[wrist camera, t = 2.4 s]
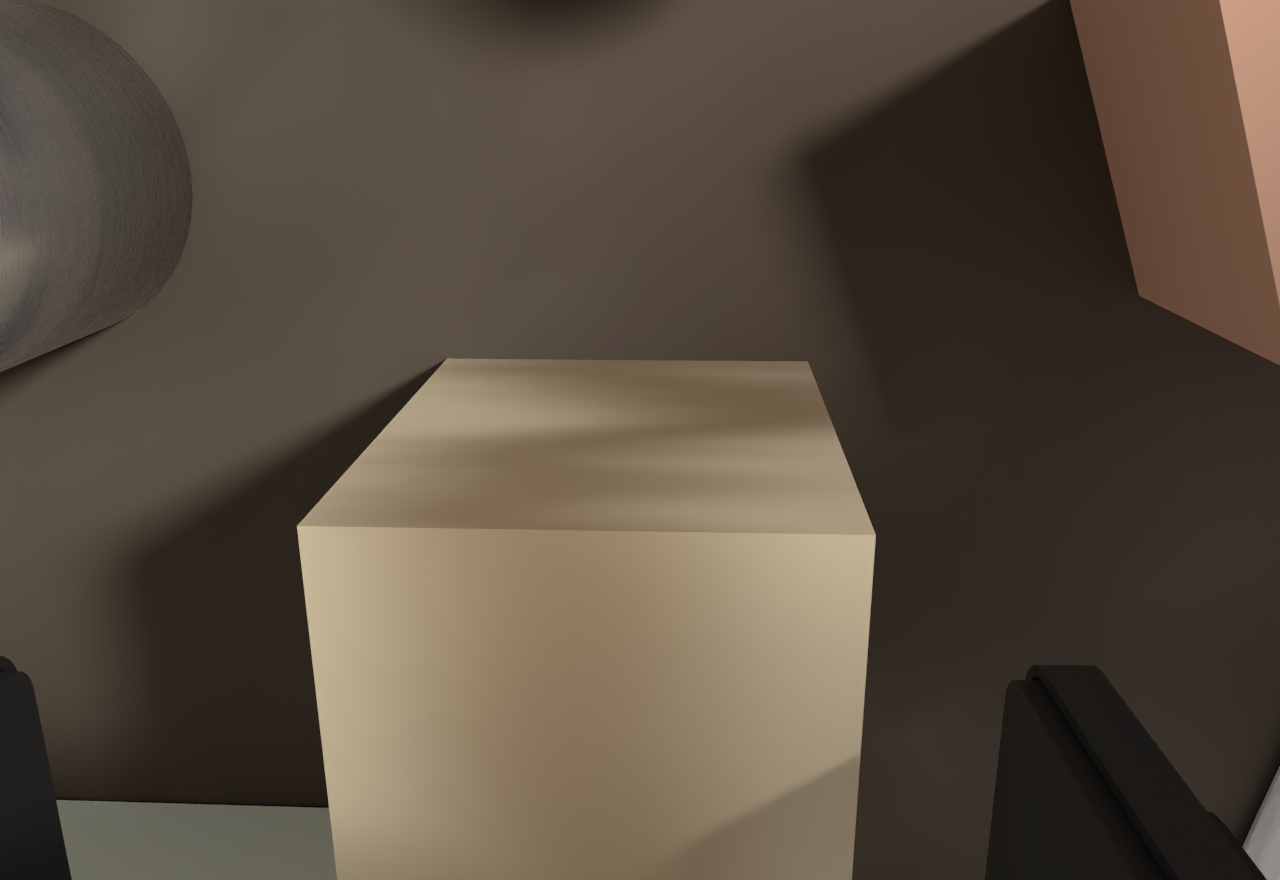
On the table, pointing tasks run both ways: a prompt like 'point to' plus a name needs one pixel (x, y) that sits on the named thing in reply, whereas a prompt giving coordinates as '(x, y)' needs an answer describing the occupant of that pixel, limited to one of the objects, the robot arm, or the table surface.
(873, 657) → the table surface
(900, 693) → the table surface
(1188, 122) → the terracotta cube
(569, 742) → the beech block
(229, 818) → the tray
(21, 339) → the grey canister
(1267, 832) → the tablet computer
